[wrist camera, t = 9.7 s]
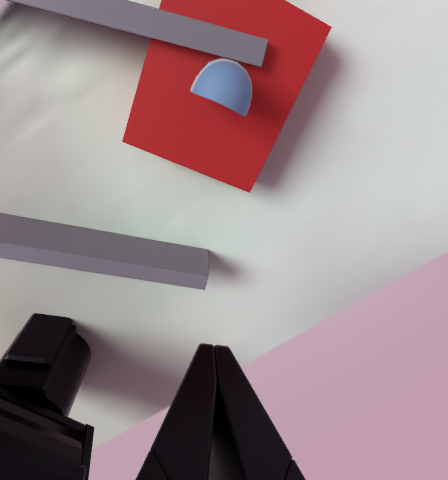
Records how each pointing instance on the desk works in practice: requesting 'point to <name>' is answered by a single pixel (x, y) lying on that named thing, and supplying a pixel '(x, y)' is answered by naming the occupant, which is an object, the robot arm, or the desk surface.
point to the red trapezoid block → (224, 89)
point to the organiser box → (105, 243)
